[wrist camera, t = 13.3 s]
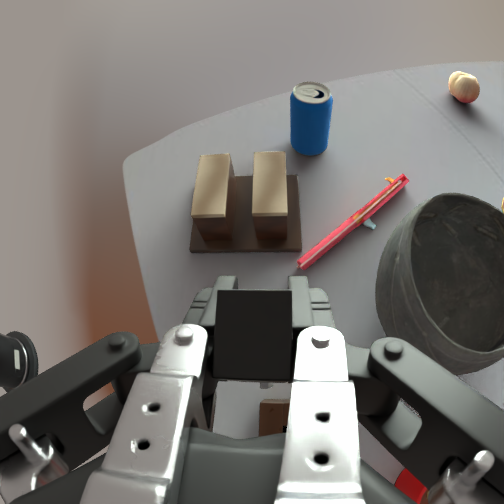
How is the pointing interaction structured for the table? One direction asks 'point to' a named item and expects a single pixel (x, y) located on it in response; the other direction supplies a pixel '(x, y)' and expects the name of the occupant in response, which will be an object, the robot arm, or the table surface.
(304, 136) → the beverage can
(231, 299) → the black block with pin
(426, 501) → the mug
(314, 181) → the table surface
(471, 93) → the fruit
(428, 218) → the bowl
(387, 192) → the pink plastic rod
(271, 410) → the knife block
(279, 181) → the slotted block
